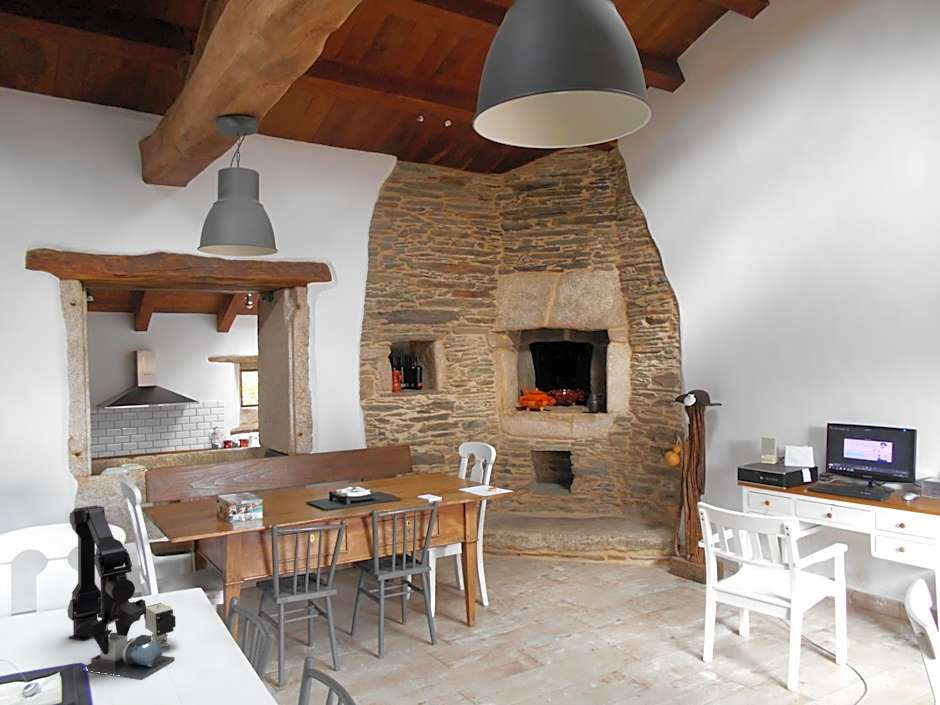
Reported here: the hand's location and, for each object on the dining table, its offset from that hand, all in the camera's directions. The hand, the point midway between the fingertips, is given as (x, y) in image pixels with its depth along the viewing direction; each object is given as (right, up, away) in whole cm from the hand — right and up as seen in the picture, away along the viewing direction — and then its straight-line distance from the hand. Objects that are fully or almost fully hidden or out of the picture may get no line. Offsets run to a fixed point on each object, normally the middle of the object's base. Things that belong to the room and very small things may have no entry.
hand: (114, 650), depth 201 cm
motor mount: (+5, -4, -2) cm, 6 cm away
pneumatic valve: (+8, -4, +12) cm, 15 cm away
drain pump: (0, -3, 0) cm, 3 cm away
